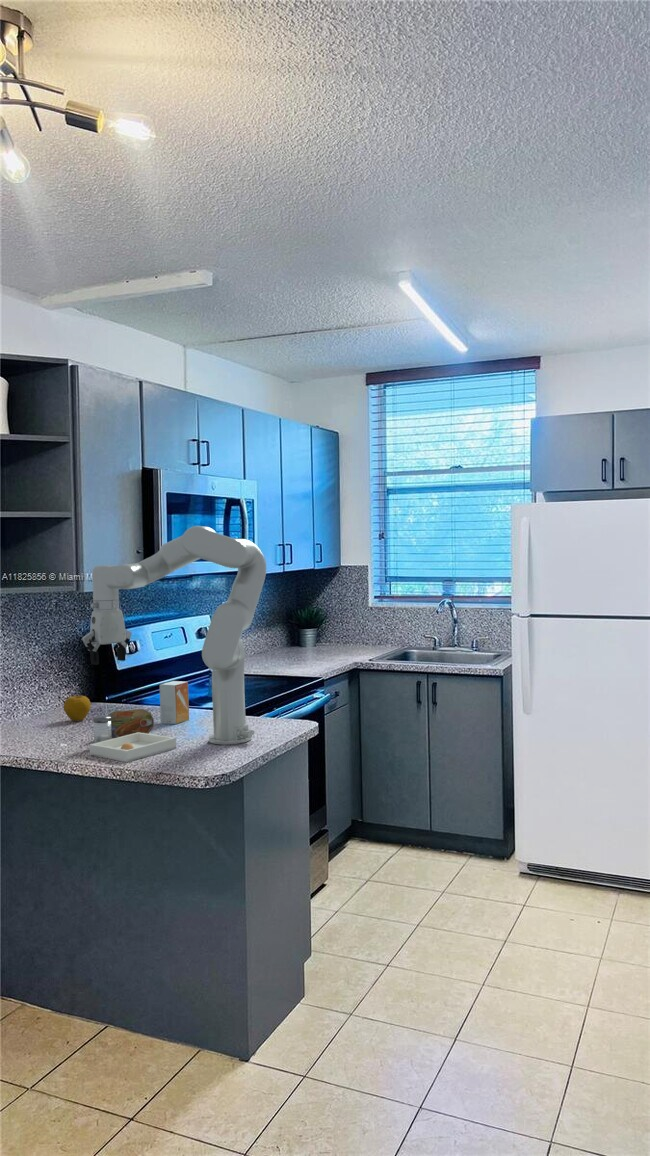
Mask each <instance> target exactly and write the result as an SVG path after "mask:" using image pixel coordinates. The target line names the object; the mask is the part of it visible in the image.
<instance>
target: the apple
mask: <svg viewBox="0 0 650 1156" xmlns="http://www.w3.org/2000/svg"><path fill="white" fill-rule="evenodd" d="M91 706H92V703H91V701H90V699H89V697H87V696H85V695H78V694H76V695H74V696H70V697H67V698H66V699H65V701H64V704H63V710H64V712H65V714H66V716H67V717H68V718H69V720H70V721H72V722H78V721H79V720H80V721H84V719H86V717H87V716H88V714H89V713H90V711H91Z"/></svg>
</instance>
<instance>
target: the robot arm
mask: <svg viewBox="0 0 650 1156" xmlns="http://www.w3.org/2000/svg"><path fill="white" fill-rule="evenodd" d="M201 559H202V560H205V561H207V562H211V563H213V564H216V565H218V566H219V565H220V566H222V567H225V568H228V569H229V568H230V569H237V574H236V577H235V579H234V581H233V584H232V587H231V591H230V593H229V596H228V598H227V600H226V601H224V602H222V603H221V604H220V605H219V606H217V608H216V609H215V611H214V613H213V615H212V618H211V620H210V623H209V626H208V629H207V633H206V636H205V639H204V642H203V645H202V649H201V657H202V661H203V662H204V664H205V666H206V667H208V668H209V669H211V671H212V672H211V692H212V693H211V695H212V719H213V720H212V723H213V734H212V735H210V736H209V737H208V742H209V743H211V744H215V745H223V746H224V745H225V746H226V745H237V744H243V743H247V742H249V741H251V740H252V738H253V736H254V735H255V730H253V729H249V724H247V723H246V702H245V701H246V699H245V697H246V696H245V659H246V650H245V646H244V643H243V641H242V639H241V637H242V634H243V631H245V630H247V629H249V627H250V626H251V624H252V622H253V619H254V616H255V612H256V609H257V605H258V603H259V600H260V596H261V594H262V589H263V587H264V584H265V579H266V575H267V563H266V558H265V555H264V553H263V552H262V551H261V548H259V547H258V545H256V543H254V542H252V541H251V540H249V539H245V538H234V537H230V536H228V535H224V534H220V533H218V532H216V531H215V530H214V529H213V528H211V527H209V526H203V525H202V526H201V525H194V526H191V527H189V528H187V529H185V531H184V533H183V534H182V535H181V536H178V537H176V538H174V539H172V540H170V541H167V542H166V543H165V542H164V544H162V545H161V546H160V548H159V550H158V551H157V552H156V553H154V554H152V555H151V556H149V557H146V558H145V559H142V560H141V561H138V562H136V563H123V564H118V565H112V564H108V565H105V564H102V565H96V566H93V568H92V569H91V570H92V572H91V573H92V575H91V576H92V579H91V580H92V598H93V599H92V603H90V608H91V609H93V611H92V612H91V617H90V627H89V632H87V633H86V634H85V635H84V636H82V638H81V640H82V642H83V644H84V647H85V648H86V649H87V651H89V654H90V655H89V657H90V658H89V659H90V660H89V661H90V664H91V665H95V666H98V665H100V655H99V654H100V652H99V651H98V649H99V647H100V646H101V645H111V644H116V645H117V647H116V654H117V661H120V662H125V661H126V658H127V656H126V655H127V654H126V648H128V644H129V643H130V641H131V637H132V632H131V631H130V630H128V629H126V624H125V619H124V614H123V611H122V609H120V595H119V594H120V593H119V591H120V590H133V589H140V588H142V587H146V586H147V585H149V584H151V583H154V582H156V581H158V580H160V579H162V578H165V577H166V576H168V575H170V574H172V573H174V572H175V571H177V570H180V569H181V568H183V567H186V566H187V565H190V564H192V563H194V562H196V561H198V560H201Z"/></svg>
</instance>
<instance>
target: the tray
mask: <svg viewBox="0 0 650 1156" xmlns="http://www.w3.org/2000/svg"><path fill="white" fill-rule="evenodd" d="M125 743H130V744H132V745H133V747H134V748H133V749H129V750H125V749H121V746H122V745H123V744H125ZM88 747H89V756H91V755H94V756H93V757H97V756H98V757H97V758H102V757H103V758H102V759H107V758H108V760H113V761H120V762H124V763H129V762H132V761H137V760H139V759H143V758H148V757H150V756H154V755H157V754H162V753H164V752H168V751H171V750H172V751H173V750H176V749H177V737H172V736H166V735H159V734H153V733H148V734H147V733H140V732H138V733H134V734H130V735H126V736H122V737H118V738H112V739H110V740H106V741H102V742H98V743H94V742H93V743H91V744H88Z"/></svg>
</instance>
